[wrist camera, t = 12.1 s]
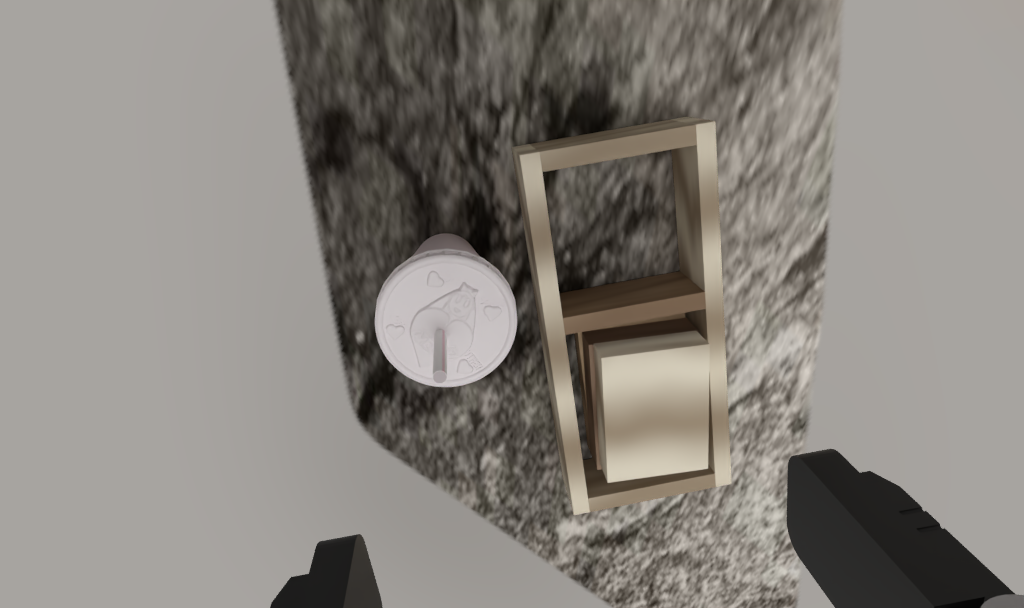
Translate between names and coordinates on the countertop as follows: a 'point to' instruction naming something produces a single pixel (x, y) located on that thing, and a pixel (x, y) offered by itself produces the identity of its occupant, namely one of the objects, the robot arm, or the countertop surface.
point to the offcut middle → (615, 335)
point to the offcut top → (652, 405)
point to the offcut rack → (631, 294)
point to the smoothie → (445, 314)
